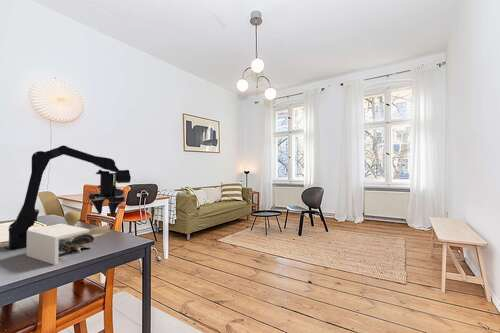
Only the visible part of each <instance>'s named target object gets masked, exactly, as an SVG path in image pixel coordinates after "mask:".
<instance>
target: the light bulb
mask: <svg viewBox="0 0 500 333" xmlns="http://www.w3.org/2000/svg"><path fill="white" fill-rule="evenodd" d="M80 219H81V213H80V212H78V211H76V210H71V211H68V212H66V213H65V215H64V220H65V222H66V224H67V225H70V226H75V227H78V222H79V221H80Z"/></svg>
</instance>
